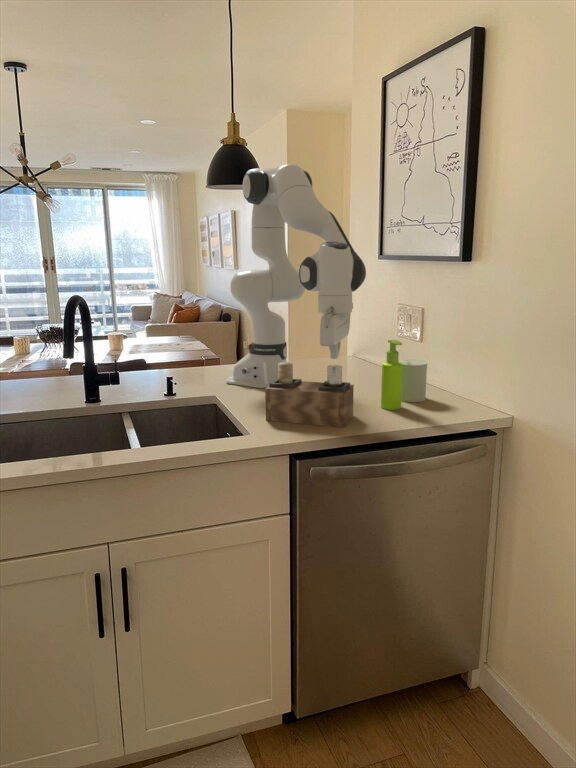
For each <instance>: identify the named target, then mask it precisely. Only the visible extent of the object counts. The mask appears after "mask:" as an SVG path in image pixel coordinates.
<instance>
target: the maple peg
mask: <svg viewBox="0 0 576 768" xmlns="http://www.w3.org/2000/svg"><path fill="white" fill-rule="evenodd" d="M293 365H294V363H292V362H289V361H288V362H287V361H286V362H283V363H278V380H279V383H284V384H292V383H293V379H294V375H293V374H294V372H293V371H294V369H293V368H294V366H293Z"/></svg>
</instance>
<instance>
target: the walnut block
mask: <svg viewBox="0 0 576 768" xmlns="http://www.w3.org/2000/svg"><path fill="white" fill-rule="evenodd" d="M264 388H265V389H264V391H265V392H264V394H265V399H264V401H265V402H264V403H265V421H269V422H270V421H272V422H283V423H292V424H293V423H294V424H303V425H313V426H322V427H323V426H325V427H334V426H335V427H336V428H345V427H346V425H347V424H348V423H349V421H351V419H352V418H353V417H354V384H351V382H346V381H345V382H344V381H342V387H327V380H325V381H324V382H319V381H304V380H302V379H301V378H300V379H299V378H293V383H292V384H284V383H279V380H278V378H277V379H276V380H274V381H272V382H271V383H269V386H268V387H264Z"/></svg>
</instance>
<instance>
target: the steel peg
mask: <svg viewBox="0 0 576 768" xmlns="http://www.w3.org/2000/svg"><path fill="white" fill-rule="evenodd" d="M326 368H327V370H326V372H327V373H326V381H327V387H342V382H343V366H342V365H337V364H331V365H327V367H326Z"/></svg>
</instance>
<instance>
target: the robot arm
mask: <svg viewBox="0 0 576 768" xmlns="http://www.w3.org/2000/svg"><path fill="white" fill-rule="evenodd" d="M242 193H243V198H244V199H245V200H246V201H247V203H250V204H252V205H253V206H252V213H251V249H252V252H253V253H254V255H256V256H257V257H258V258H260V259H262V260H264V261H266V262H267V264H268V269H249V270H243V271H239V272H236V273H235V274H233V277H232V278H231V281H230V292H231V295H232V297H233V298H234V299H235V300H236V301H237V302H238V303H240V305H242V306H243V307H244V308H245V309H246V311H247V312H248V314H249V317H250V319H251V325H252V334H253V336H252V337H253V341H252V342H251V343H249V344H248V345H247V346H246V347H247V348H246V349H247V350H248V353H247V354H245V356H244V357H242V358H241V359H239V360H238V361H237V362H236V363H235V364H234V367H233V372H232V375H230V376H229V377H227V379H226V383H227V384H230V385H238V386H245V387H251V388H258V389H259V388H260V389H263V388H267V387H268V386H269V383H271V382H272V381H274V380H276V379H277V378H278V363H283V362H287V357H288V347H287V342H286V322H285V320H284V318H283V316H281V315H279V314H278V313H276V312H274V311H271V310H270V308H269V303H281V302H291V301H295V300H299V299H301V298H302V296H303V295H304V293H305V291H306V290H307V291H310V292H318V294H317V295H318V297H317V298H318V301H317V302H318V303H317V304H318V305H317V307H318V308H317V309H318V311H317V313H318V314H322V316H321V318H320V323H319V325H320V327H319V329H320V330H319V343H320V346H321V347H329V351H330V359H332V360H336V359H338V358H339V357H340V349H341V344H342V341H343V340H344V339H345V338H346V337H348V335H349V332H350V326H351V325H350V324H351V315H352V314H351V313H352V312H353V309H354V308H353V307H354V303H353V292H355V291H357V290H358V289H360V287H362V286H363V283H364V281H365V280H366V276H367V269H366V265H365V263H364V261H363V259H362V258H361V257H360V256H359V255H358V253H357V252H356V251H355V250H354V248H353V245H351V243H350V241H349V239H348V237H347V235H346V234H345V232H344V230H343V228H342V226H341V225H340V223H339V221H338V219H337V218H336V217H335V215H334V213H332V212H331V211H330V210H329V209H327V208H326V207H325V206H324V205H323V204H322V203H321V202H320V200H319V199H318V197H317V196H316V194H315V192H314V189H313V181H312V177H311V175H310V173H309V172H308V171H306V170H304V169H302V168H301V166H300V165H298V164H294V163H287V164H283V165H281V166H280V167H268V168H267V167H266V168H260V167H259V168H258V167H257V168H252V169H248V170H247V171H246V173H245V174H244V176H243V180H242ZM286 224H287V226H289V227H291V228H293V229H295V230H298V231H300V232H301V231H303V232H306V233H309V234H312V235H315V236H318V237H320V238H321V239H323V240H324V241H325V242H323V243H321V244H320V245H319V248H318V250H317V251H316V252H315V253H314V254H312V255H310V256H307V257H305V258H304V259H303V260H302V262H301V263H300V265H299V270H298V269H296V268H295V266H293V264H292V262H291V261H290V259H289V255H288V253H287V249H286V247H287V246H286Z"/></svg>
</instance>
